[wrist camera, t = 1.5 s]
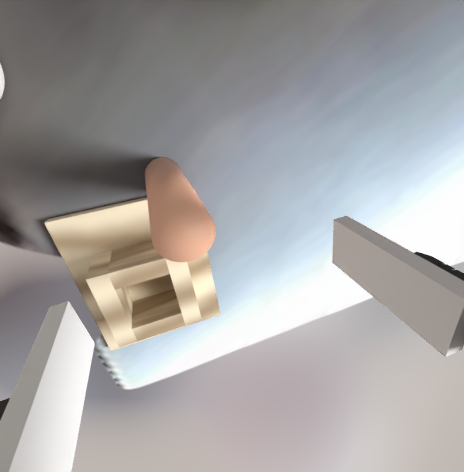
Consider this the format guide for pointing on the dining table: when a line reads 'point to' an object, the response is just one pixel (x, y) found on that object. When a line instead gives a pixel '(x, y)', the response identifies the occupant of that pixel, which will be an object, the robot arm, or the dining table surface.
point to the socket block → (131, 274)
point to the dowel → (176, 213)
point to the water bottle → (1, 81)
